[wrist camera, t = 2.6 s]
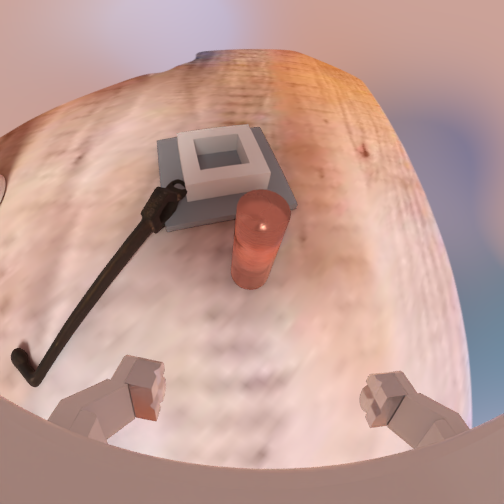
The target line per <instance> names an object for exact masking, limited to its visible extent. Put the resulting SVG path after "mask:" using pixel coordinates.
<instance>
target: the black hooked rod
mask: <svg viewBox="0 0 504 504" xmlns="http://www.w3.org/2000/svg"><path fill="white" fill-rule="evenodd" d="M175 184H181V185H182V186H184V187H185V182H184V181H182V180H180V179H176V180H173V181H171V182H170V183H169V184H168V185H167V186H166V188H163V187H157V188H156V189H155V190H154V192H153V193H152V195H151V197H150V199H149V200H148V202H147V203H146V205H145V207H144V208H143V210H142V212H141V215H142V220H141V222H140V223H139V224H138V226H137V227H136V228H135V229H134V231H133V232H132V233H131V234H130V236H129V237H128V238H127V239H126V241H125V242H124V243H123V245H122V246H121V247H120V248H119V250H118V251H117V252H116V254H115V255H114V256H113V258H112V259H111V260H110V261H109V263H108V264H107V265H106V267H105V268H104V269H103V271H102V272H101V273H100V275H99V276H98V277H97V279H96V280H95V281H94V283H93V284H92V286H91V287H90V288H89V290H88V291H87V293H86V294H85V295H84V297H83V298H82V300H81V301H80V302H79V304H78V305H77V307H76V308H75V309H74V311H73V312H72V314H71V315H70V317H69V318H68V320H67V321H66V323H65V324H64V326H63V327H62V329H61V331H60V332H59V334H58V335H57V337H56V338H55V340H54V342H53V343H52V345H51V346H50V348H49V350H48V351H47V353H46V355H45V356H44V358H43V360H42V361H41V363H40V364H39V366H38V368H37V370H36V371H34V370H33V369H32V368H31V366H30V365H29V361H28V356H27V354H26V352H25V351H24V350H22V349H21V348H16V349H14V350H13V352H12V354H11V360H12V363H13V364H14V366H15V367H16V368H17V369H18V370H19V371H20V373H21V374H22V375H23V377H24V378H25V379H26V381H27V382H28V383H29V384H30V385H31V386H33V387H37V386H38V385H39V384H40V383H41V382H42V380H43V379H44V377H45V375H46V373H47V372H48V370H49V369H50V367H51V366H52V364H53V363H54V361H55V360H56V358H57V356H58V355H59V353H60V352H61V350H62V349H63V347H64V346H65V344H66V343H67V342H68V340H69V339H70V337H71V336H72V334H73V333H74V332H75V330H76V329H77V327H78V326H79V325H80V323H81V322H82V321H83V319H84V318H85V316H86V315H87V314H88V313H89V311H90V310H91V308H92V307H93V306H94V305H95V303H96V302H97V301H98V299H99V298H100V297H101V295H102V294H103V293H104V291H105V290H106V289H107V287H108V286H109V285H110V284H111V282H112V281H113V280H114V279H115V277H116V276H117V275H118V274H119V272H120V271H121V270H122V269H123V267H124V266H125V265H126V264H127V262H128V261H129V260H130V258H131V257H132V256H133V255H134V253H135V252H136V251H137V250H138V248H139V247H140V246H141V245H142V243H143V242H144V241H145V240H146V239H147V237H148V236H149V235H150V234H151V233H152V232H154V233H158V232H159V231H160V230H161V229H162V228H163V227H164V226H165V222H166V221H167V220H168V219H169V218H170V217H171V216H172V215H173V213H174V212H175V211H176V209H177V206H178V203H179V201H180V200H182V199H183V198H184V197H185V196H186V194H187V190H186V187H185V189H178V188H176V187H174V185H175Z"/></svg>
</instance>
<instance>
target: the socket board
mask: <svg viewBox="0 0 504 504" xmlns="http://www.w3.org/2000/svg"><path fill="white" fill-rule="evenodd" d="M157 149H158V162H159V173H160V183H161V187H163V188H166V186H167V185H168V184H169V183H170V182H171V181H173V180H176V179H180V180H182V181H184V182H185V187H186V190H187V194H186V196H185V197H184V198H183V199H182V200H180V201H179V203H178V206H177V209H176V211H175V212H174V213H173V215H172V216H171V217H170V218H169V219H168V220H167V221H166V222H165V226H166V230H167V232H170V231H175V230H180V229H185V228H190V227H195V226H201V225H206V224H211V223H217V222H222V221H228V220H233V219H236V211H237V204H238V201H239V200H240V198H241V197H242V196H243V195H244V194H246V193H247V192H250V191H252V190H258V189H264V190H270V191H273V192H275V193H277V194H279V195H280V196H282V197H283V198H284V199H285V200H286V201H287V203H288V205H289V207H290V210H292V209H296V207H297V202H296V200H295V197H294V195H293V193H292V191H291V189H290V187H289V185H288V183H287V180H286V178H285V176H284V174H283V172H282V170H281V168H280V166H279V164H278V162H277V160H276V158H275V156H274V154H273V152H272V150H271V148H270V146H269V144H268V142H267V140H266V138H265V136H264V134H263V132H262V130H261V128H260V127H254V128H250V127H249V125H248V124H245V125H234V126H224V127H216V128H208V129H200V130H193V131H187V132H180V133H177V137H174V138H169V139H163V140H158V141H157ZM174 187H176V188H178V189H185V187H184V186H182V185H181V184H175V185H174Z"/></svg>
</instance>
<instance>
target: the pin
mask: <svg viewBox="0 0 504 504" xmlns="http://www.w3.org/2000/svg"><path fill="white" fill-rule="evenodd" d="M290 215H291V211H290V207H289V205H288V203H287V201H286V200H285V199H284V198H283V197H282V196H280V195H279V194H277V193H275V192H273V191H270V190H264V189H258V190H252V191H250V192H247V193H246V194H244V195H243V196H242V197H241V198H240V200H239V201H238V204H237V211H236V222H235V233H234V244H233V255H232V267H231V275H232V278H233V280H234V282H235V283H236V284H237V285H238V286H240V287H241V288H244V289H249V290H253V289H257V288H259V287H261V286H262V285H264V283H265V282H266V281H267V278H268V276H269V273H270V271H271V268H272V265H273V263H274V260H275V257H276V255H277V252H278V249H279V247H280V244H281V241H282V239H283V236H284V233H285V230H286V228H287V225H288V222H289V220H290Z"/></svg>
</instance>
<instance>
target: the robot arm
mask: <svg viewBox="0 0 504 504" xmlns="http://www.w3.org/2000/svg"><path fill="white" fill-rule="evenodd" d="M5 185H6V182H5V178H4V177H3V176H2V175H1V174H0V202H1V200H2V197H3V195H4V191H5ZM164 371H165V367H164V363H163V362H159V361H154V360H149V359H145V358H140V357H135V356H131V355H126V356H124V358H123V360H122V361H121V363H120V365H119V366H118V368H117V370H116V371H115V373H114V375H113V377H112V378H111V380H109V379H106V380H104V381H102V382H100V383H98V384H96V385H94V386H91V387H89V388H87V389H85V390H83V391H80V392H78V393H76V394H74V395H71V396H69V397H67V398H65V399H62V400H61V401H60V402H59V404H58V405H57V407H56V408H55V410H54V411H53V413H52V414H51V416H50V417H49V419H48V420H45V419H43V418H41V417H39V416H37V415H35V414H33V413H31V412H29V411H27V410H25V409H23V408H22V407H20V406H18V405H16V404H14V403H13V402H11V401H9V400H7V399H6V398H4V397H2V396H1V395H0V504H504V413H503V414H501V415H500V416H498V417H496V418H494V419H492V420H490V421H488V422H485V423H483V424H481V425H479V426H477V427H474V428H472V429H469V428H468V426H467V425H466V423H465V422H464V420H463V419H462V418H461V416H460V415H459V413H457V412H455V411H453V410H451V409H449V408H447V407H445V406H443V405H442V404H440V403H438V402H436V401H434V400H432V399H430V398H428V397H427V396H425V395H423V394H421V393H417V392H416V390H415V389H414V388H413V386H412V385H411V383H410V382H409V380H408V379H407V377H406V376H405V375H404V373H403V372H401V371H395V372H388V373H376V374H370V375H369V376H368V378H367V380H366V382H367V386H365V387H364V388H363V389H362V391H361V394H360V400H359V401H360V406H361V408H362V410H363V411H365V412H366V413H367V414H366V416H365V418H366V420H367V422H368V424H369V427H370V428H372V427H380V426H387V427H388V428H389V429H391V430H392V431H393V432H394V433H395V434H397V435H398V436H399V437H400V438H401V439H403V440H404V441H405V442H406V443H408V444H409V445H410V446H411V447H413V448H414V449H413V450H409V451H406V452H402V453H398V454H394V455H390V456H385V457H381V458H376V459H371V460H365V461H360V462H354V463H347V464H340V465H332V466H322V467H311V468H294V469H247V468H230V467H218V466H209V465H200V464H193V463H186V462H180V461H174V460H169V459H164V458H159V457H154V456H150V455H145V454H141V453H137V452H133V451H130V450H126V449H122V448H119V447H116V446H112V445H109V444H108V443H107V439H108V438H110V437H111V436H112V435H114V434H115V433H116V432H118V431H119V430H120V429H122V428H123V427H124V426H126V425H127V424H128V423H130V422H131V421H132V420H134V419H135V417H137V418H142V419H147V420H152V421H157V418H158V415H159V412H160V403H161V402H162V401H163V399H164V396H165V390H166V379H165V378H164V377H163V374H164Z"/></svg>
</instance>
